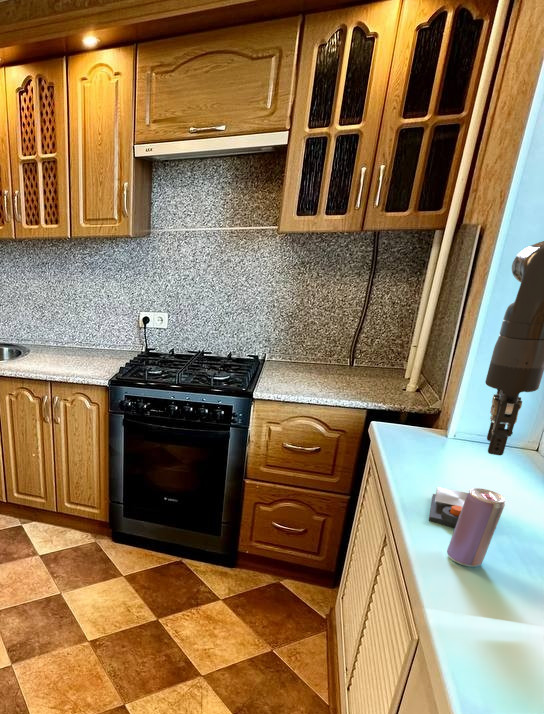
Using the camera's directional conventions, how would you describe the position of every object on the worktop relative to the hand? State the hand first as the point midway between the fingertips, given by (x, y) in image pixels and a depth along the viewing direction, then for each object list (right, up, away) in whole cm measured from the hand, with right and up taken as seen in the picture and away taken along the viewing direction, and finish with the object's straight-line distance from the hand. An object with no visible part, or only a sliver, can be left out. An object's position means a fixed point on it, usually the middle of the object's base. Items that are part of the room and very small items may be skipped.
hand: (494, 447), depth 99 cm
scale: (+12, -17, +25) cm, 33 cm away
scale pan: (+13, -13, +26) cm, 32 cm away
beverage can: (+1, -23, +9) cm, 25 cm away
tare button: (+9, -16, +21) cm, 27 cm away
